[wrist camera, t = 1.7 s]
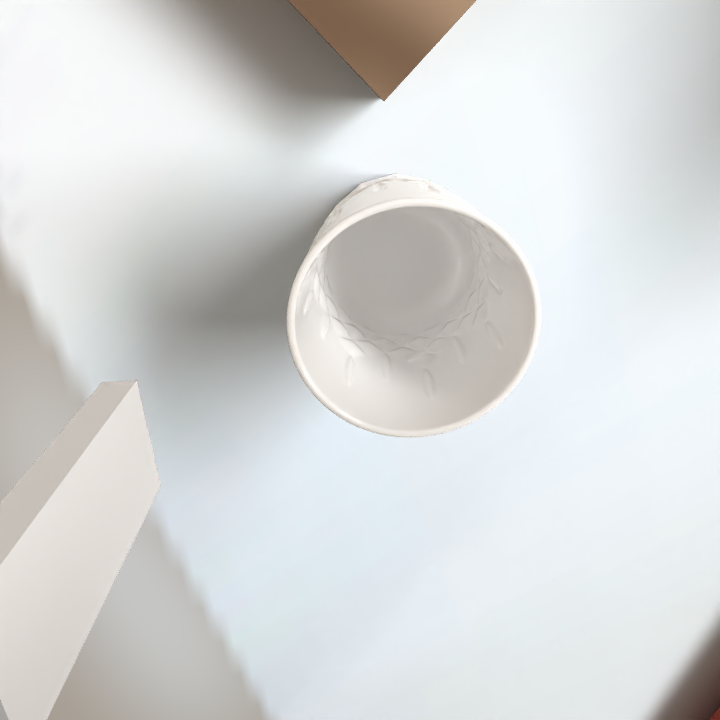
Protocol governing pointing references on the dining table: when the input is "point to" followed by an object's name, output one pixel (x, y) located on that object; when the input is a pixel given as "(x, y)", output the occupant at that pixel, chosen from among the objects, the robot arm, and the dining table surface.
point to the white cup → (412, 310)
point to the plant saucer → (716, 715)
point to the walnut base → (382, 33)
